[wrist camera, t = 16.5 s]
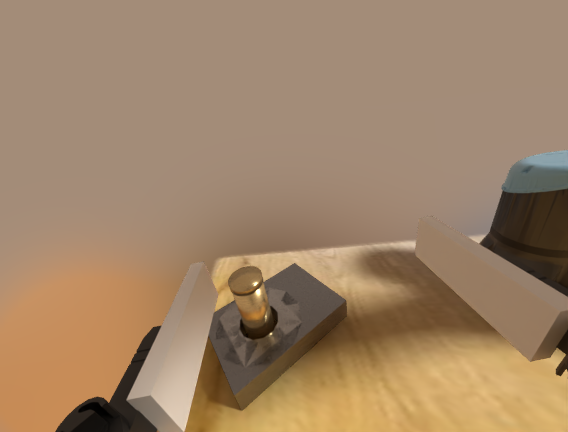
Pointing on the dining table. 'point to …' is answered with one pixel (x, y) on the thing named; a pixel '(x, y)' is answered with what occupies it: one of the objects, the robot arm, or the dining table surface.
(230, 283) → the amber cylindrical peg
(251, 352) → the jig
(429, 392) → the dining table surface
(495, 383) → the dining table surface
